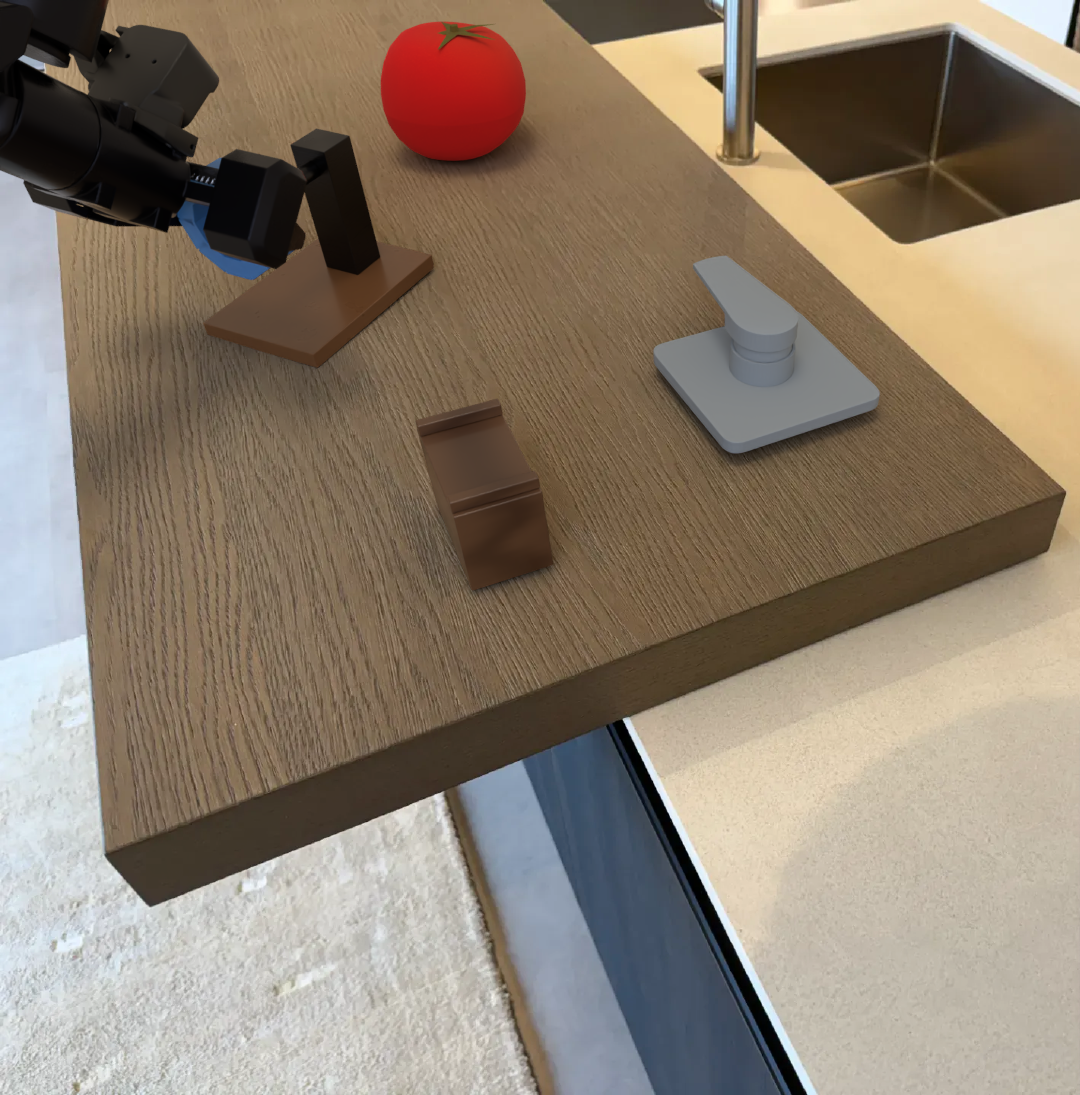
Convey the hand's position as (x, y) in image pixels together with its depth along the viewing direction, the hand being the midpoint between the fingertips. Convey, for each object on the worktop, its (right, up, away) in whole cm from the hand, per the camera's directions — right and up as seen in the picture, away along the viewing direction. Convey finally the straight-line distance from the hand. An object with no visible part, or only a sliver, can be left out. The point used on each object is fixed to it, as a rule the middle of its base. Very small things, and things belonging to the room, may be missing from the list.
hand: (257, 229), depth 72 cm
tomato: (+7, +16, +27) cm, 33 cm away
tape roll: (-1, -2, +1) cm, 3 cm away
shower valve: (+35, -10, +3) cm, 36 cm away
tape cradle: (+19, -21, -9) cm, 30 cm away
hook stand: (+1, -3, +9) cm, 9 cm away
